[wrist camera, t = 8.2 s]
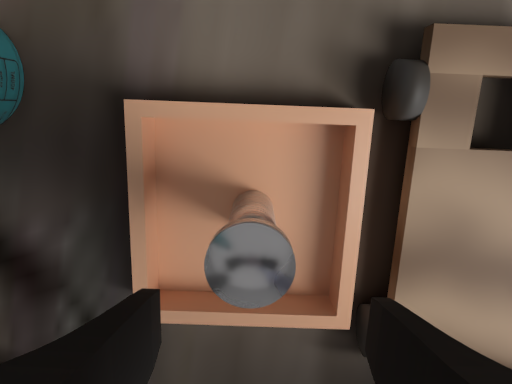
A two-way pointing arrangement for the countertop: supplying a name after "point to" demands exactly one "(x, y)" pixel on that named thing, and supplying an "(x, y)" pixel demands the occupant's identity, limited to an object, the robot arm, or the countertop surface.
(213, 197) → the tray
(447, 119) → the trolley
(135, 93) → the countertop surface
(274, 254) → the pin
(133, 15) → the countertop surface
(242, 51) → the countertop surface
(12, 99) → the teal bottle
